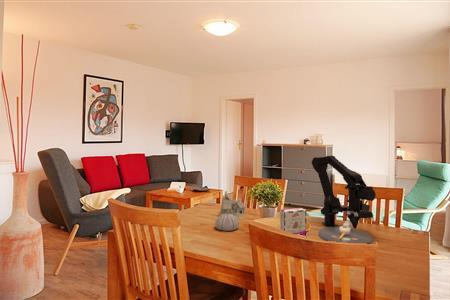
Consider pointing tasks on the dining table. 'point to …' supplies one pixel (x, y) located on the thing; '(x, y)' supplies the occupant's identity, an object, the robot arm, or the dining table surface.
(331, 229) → the round gray plate
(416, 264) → the dining table surface
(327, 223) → the robot arm
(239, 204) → the ceramic cottage
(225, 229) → the sea urchin shell
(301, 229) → the candy bar box
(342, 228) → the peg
